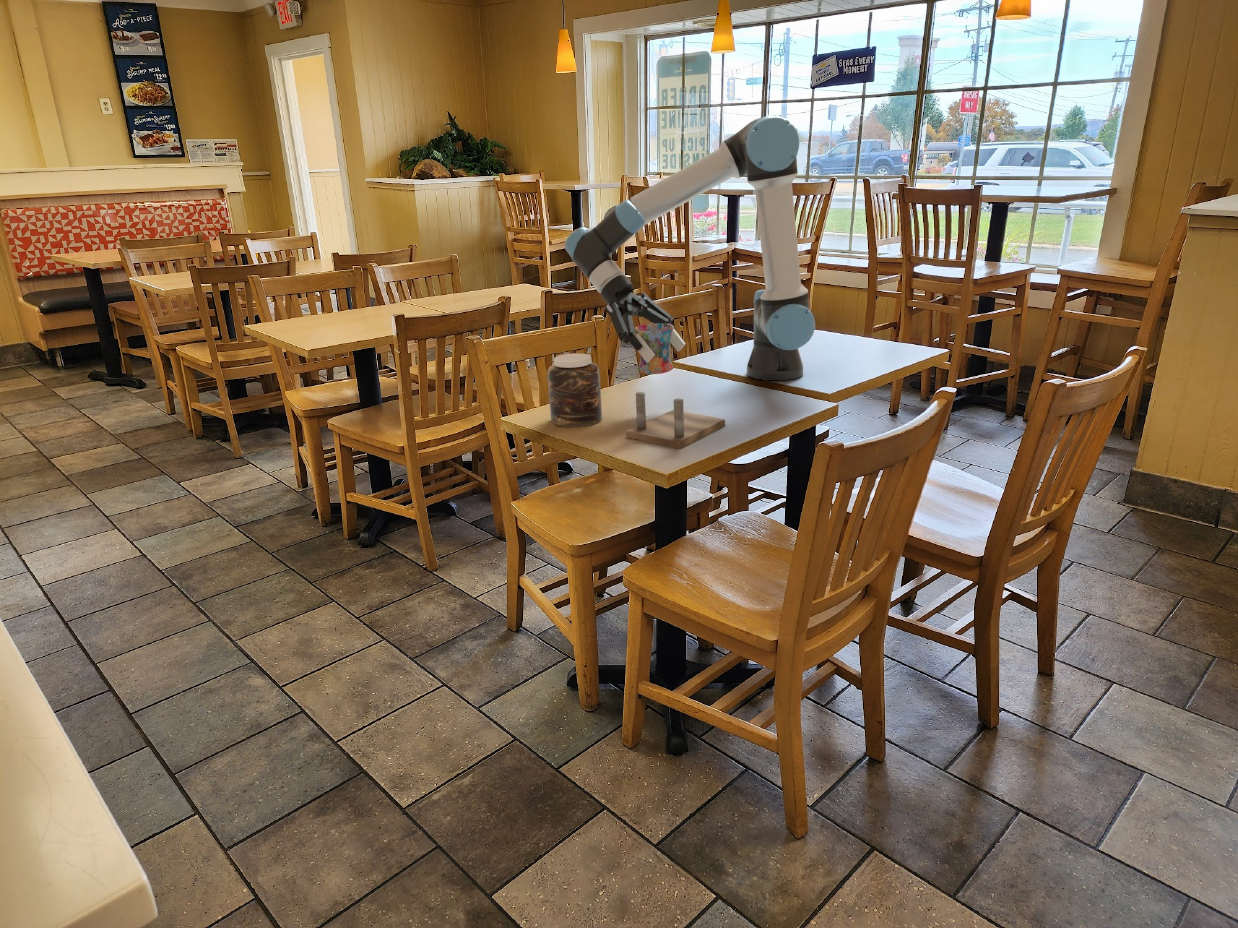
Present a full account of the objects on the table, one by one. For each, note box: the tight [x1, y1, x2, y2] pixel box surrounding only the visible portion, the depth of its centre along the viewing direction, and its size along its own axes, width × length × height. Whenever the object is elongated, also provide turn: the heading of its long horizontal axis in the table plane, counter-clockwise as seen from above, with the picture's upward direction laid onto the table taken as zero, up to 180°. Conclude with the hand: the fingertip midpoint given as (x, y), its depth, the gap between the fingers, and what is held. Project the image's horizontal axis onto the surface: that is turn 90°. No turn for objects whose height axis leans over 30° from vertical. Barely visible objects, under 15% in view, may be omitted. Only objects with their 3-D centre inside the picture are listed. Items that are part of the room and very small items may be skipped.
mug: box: [634, 323, 675, 375], centre depth 191 cm, size 12×9×11 cm
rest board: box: [625, 391, 726, 449], centre depth 177 cm, size 18×14×10 cm
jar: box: [547, 353, 603, 428], centre depth 187 cm, size 12×12×15 cm
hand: (666, 353), depth 190 cm, fingers closed on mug, 12 cm apart
